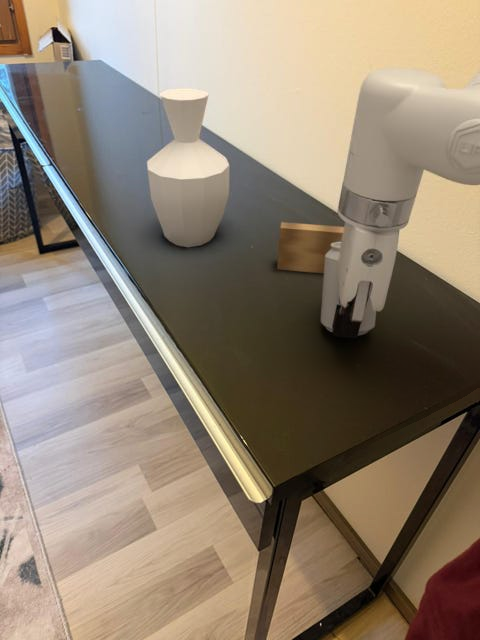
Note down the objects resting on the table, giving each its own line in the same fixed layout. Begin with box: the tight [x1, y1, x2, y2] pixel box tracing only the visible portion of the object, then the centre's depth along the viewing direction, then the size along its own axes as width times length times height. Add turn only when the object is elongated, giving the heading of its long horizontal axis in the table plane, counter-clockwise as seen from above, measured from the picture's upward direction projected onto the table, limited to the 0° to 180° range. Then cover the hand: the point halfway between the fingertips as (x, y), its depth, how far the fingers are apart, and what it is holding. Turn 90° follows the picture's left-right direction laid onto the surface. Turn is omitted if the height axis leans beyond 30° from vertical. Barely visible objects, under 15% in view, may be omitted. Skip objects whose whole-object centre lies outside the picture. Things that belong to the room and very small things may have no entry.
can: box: [320, 242, 377, 336], centre depth 62 cm, size 8×8×12 cm
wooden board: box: [276, 221, 344, 274], centre depth 76 cm, size 16×2×8 cm, turn 82°
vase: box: [146, 87, 230, 248], centre depth 79 cm, size 14×14×25 cm
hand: (344, 333), depth 60 cm, fingers closed
